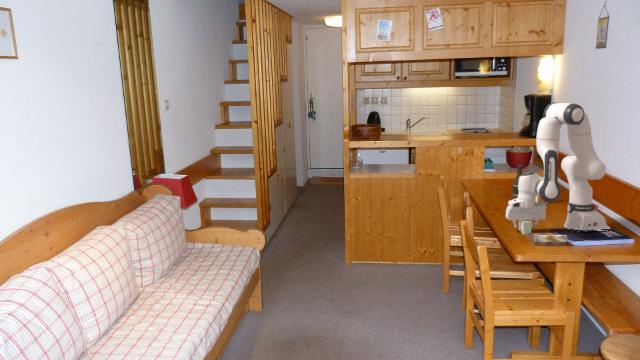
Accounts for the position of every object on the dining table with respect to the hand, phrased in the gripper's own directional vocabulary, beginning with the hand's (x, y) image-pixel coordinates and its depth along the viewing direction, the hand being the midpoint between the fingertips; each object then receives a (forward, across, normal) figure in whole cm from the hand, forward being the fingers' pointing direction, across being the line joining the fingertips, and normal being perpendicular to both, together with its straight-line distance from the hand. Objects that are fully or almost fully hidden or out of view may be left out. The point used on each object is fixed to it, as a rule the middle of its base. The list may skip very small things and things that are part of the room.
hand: (525, 227), depth 279 cm
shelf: (+3, -6, +15) cm, 16 cm away
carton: (+3, 0, 0) cm, 3 cm away
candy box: (+3, -28, -60) cm, 66 cm away
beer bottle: (+3, -16, -67) cm, 69 cm away
